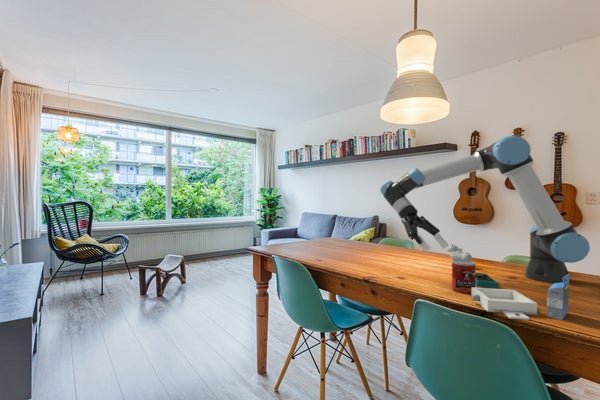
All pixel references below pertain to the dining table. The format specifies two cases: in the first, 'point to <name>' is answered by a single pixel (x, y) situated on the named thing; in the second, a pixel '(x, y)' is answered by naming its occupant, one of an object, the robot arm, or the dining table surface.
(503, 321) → the dining table surface
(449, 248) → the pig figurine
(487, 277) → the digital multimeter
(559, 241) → the robot arm
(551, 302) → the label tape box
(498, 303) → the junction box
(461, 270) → the canned food
